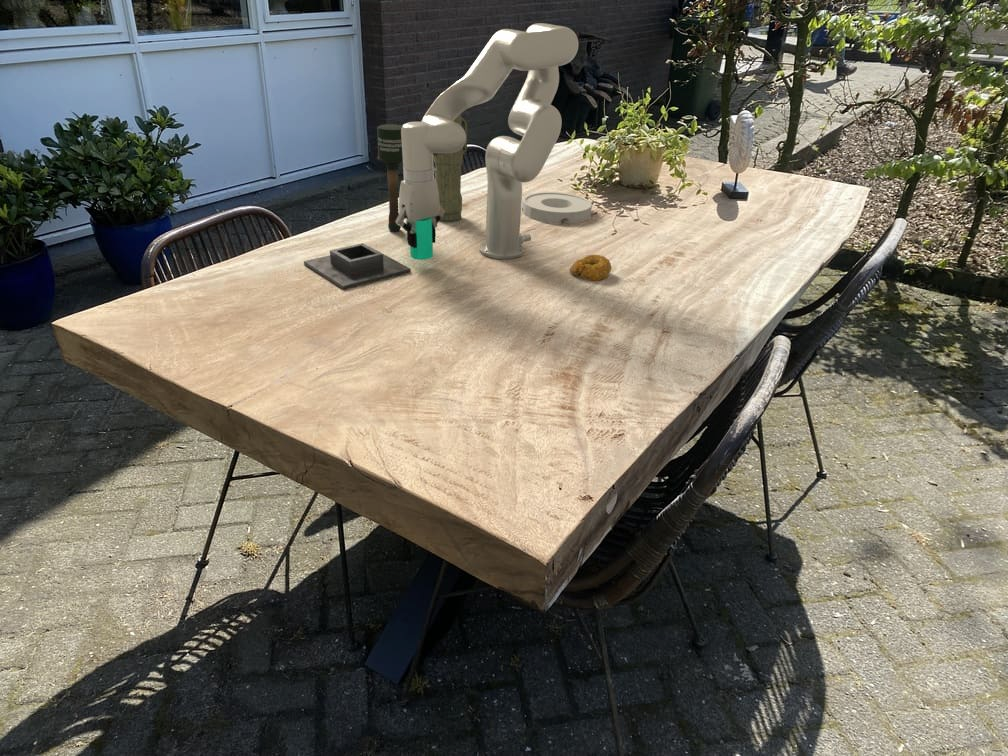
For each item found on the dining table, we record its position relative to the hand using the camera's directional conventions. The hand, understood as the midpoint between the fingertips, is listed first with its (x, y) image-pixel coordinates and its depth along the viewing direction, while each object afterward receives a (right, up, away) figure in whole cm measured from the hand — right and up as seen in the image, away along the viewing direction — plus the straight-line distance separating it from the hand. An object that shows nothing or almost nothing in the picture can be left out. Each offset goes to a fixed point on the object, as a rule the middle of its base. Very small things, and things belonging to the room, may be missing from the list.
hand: (421, 243), depth 185 cm
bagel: (+45, -8, +5) cm, 46 cm away
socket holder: (-17, -7, 0) cm, 18 cm away
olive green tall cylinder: (+4, +16, +40) cm, 43 cm away
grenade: (-11, +9, +27) cm, 31 cm away
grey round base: (+39, +19, +51) cm, 67 cm away
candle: (0, -3, +2) cm, 4 cm away
